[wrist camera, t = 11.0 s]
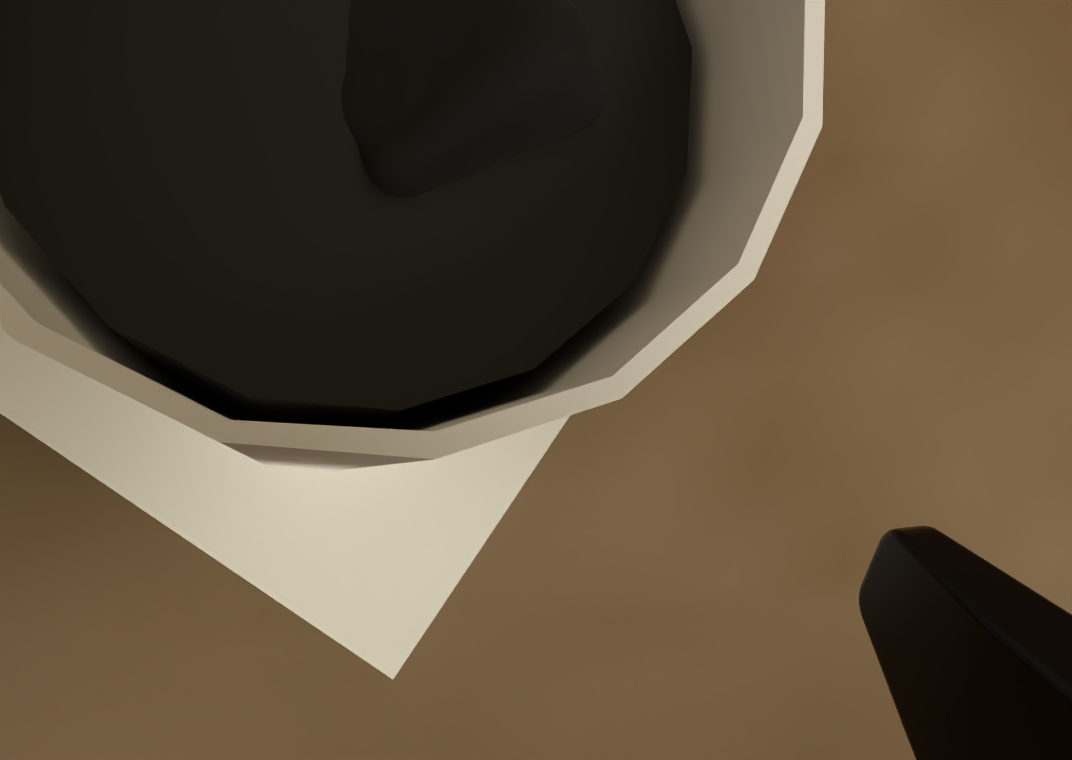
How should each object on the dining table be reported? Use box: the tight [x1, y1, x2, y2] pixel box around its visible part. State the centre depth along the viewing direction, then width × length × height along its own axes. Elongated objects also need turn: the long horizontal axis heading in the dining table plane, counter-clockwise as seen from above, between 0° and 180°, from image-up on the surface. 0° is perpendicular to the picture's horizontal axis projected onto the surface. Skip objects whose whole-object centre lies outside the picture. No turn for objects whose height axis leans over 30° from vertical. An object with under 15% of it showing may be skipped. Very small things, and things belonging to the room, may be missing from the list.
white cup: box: [0, 0, 825, 471], centre depth 12 cm, size 7×7×10 cm
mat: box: [0, 325, 569, 679], centre depth 17 cm, size 9×9×1 cm
